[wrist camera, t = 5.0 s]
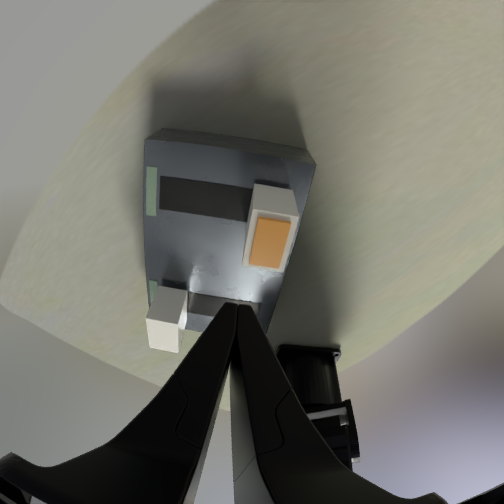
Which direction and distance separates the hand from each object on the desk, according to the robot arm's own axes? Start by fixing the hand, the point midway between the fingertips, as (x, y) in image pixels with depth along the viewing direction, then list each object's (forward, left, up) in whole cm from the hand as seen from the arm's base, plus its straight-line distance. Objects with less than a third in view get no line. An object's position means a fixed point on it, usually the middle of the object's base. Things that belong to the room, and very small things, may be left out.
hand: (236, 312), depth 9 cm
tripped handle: (-1, 0, -8) cm, 8 cm away
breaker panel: (+1, +4, -11) cm, 12 cm away
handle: (+4, +8, -8) cm, 12 cm away
